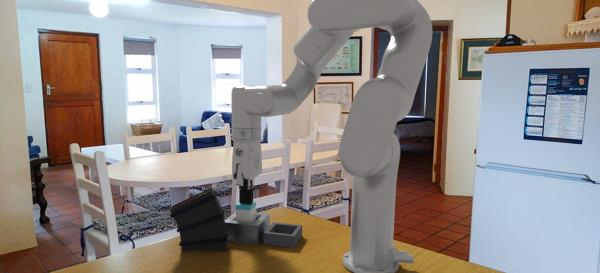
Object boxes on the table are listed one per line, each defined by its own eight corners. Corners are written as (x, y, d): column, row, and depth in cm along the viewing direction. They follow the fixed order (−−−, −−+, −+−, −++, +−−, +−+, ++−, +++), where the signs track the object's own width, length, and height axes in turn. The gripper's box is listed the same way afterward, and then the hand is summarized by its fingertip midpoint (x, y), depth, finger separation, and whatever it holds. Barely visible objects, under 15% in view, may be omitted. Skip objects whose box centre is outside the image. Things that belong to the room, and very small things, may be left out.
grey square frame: (302, 236, 110) (302, 225, 109) (294, 247, 102) (294, 236, 102) (273, 232, 112) (273, 222, 111) (263, 244, 104) (263, 232, 104)
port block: (269, 231, 113) (270, 213, 112) (257, 244, 104) (258, 225, 103) (237, 227, 115) (237, 210, 114) (223, 240, 106) (222, 222, 105)
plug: (256, 233, 111) (255, 201, 110) (250, 239, 107) (250, 206, 106) (242, 232, 112) (241, 200, 111) (236, 238, 108) (235, 204, 107)
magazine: (239, 245, 99) (211, 190, 97) (189, 268, 99) (160, 214, 97) (240, 238, 103) (213, 186, 101) (192, 261, 103) (164, 209, 101)
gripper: (249, 138, 97) (249, 213, 100) (269, 131, 112) (269, 196, 114) (220, 137, 99) (220, 210, 102) (243, 129, 114) (243, 194, 116)
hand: (246, 203), depth 108 cm, fingers closed
